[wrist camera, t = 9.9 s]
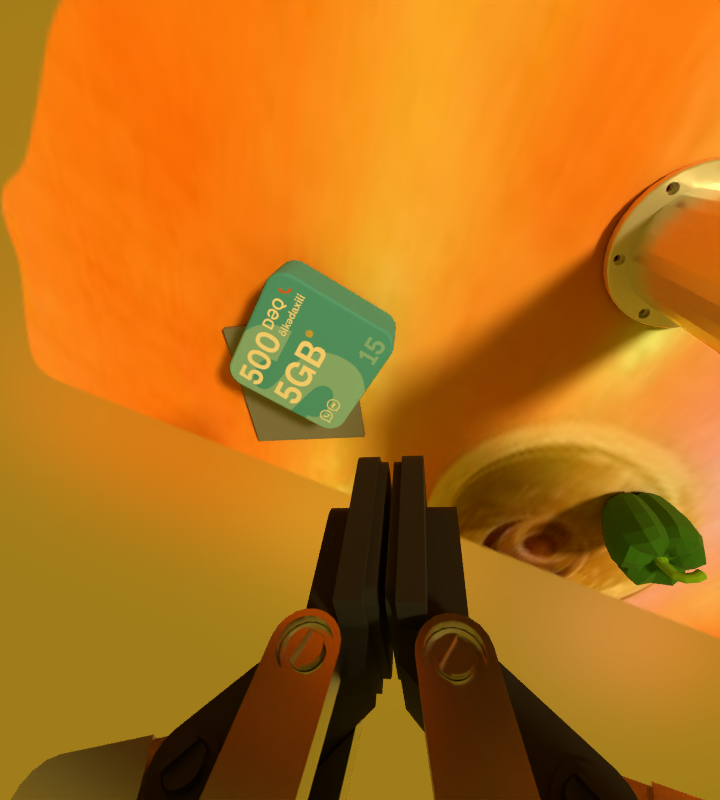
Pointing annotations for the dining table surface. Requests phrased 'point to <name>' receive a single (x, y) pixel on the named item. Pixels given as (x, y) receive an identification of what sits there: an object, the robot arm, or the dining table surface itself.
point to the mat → (288, 412)
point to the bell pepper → (652, 540)
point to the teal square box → (312, 345)
